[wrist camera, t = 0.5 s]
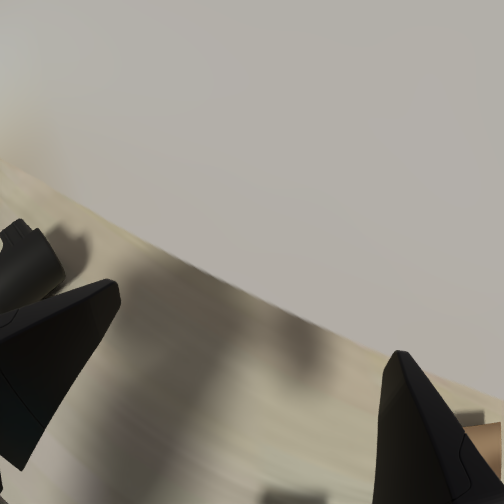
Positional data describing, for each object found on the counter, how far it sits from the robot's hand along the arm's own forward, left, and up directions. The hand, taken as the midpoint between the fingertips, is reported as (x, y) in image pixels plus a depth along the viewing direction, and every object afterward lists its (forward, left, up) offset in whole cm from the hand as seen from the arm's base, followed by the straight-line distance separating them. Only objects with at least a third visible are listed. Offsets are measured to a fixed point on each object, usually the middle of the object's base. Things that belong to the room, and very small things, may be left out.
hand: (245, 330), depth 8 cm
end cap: (+3, +21, -15) cm, 26 cm away
